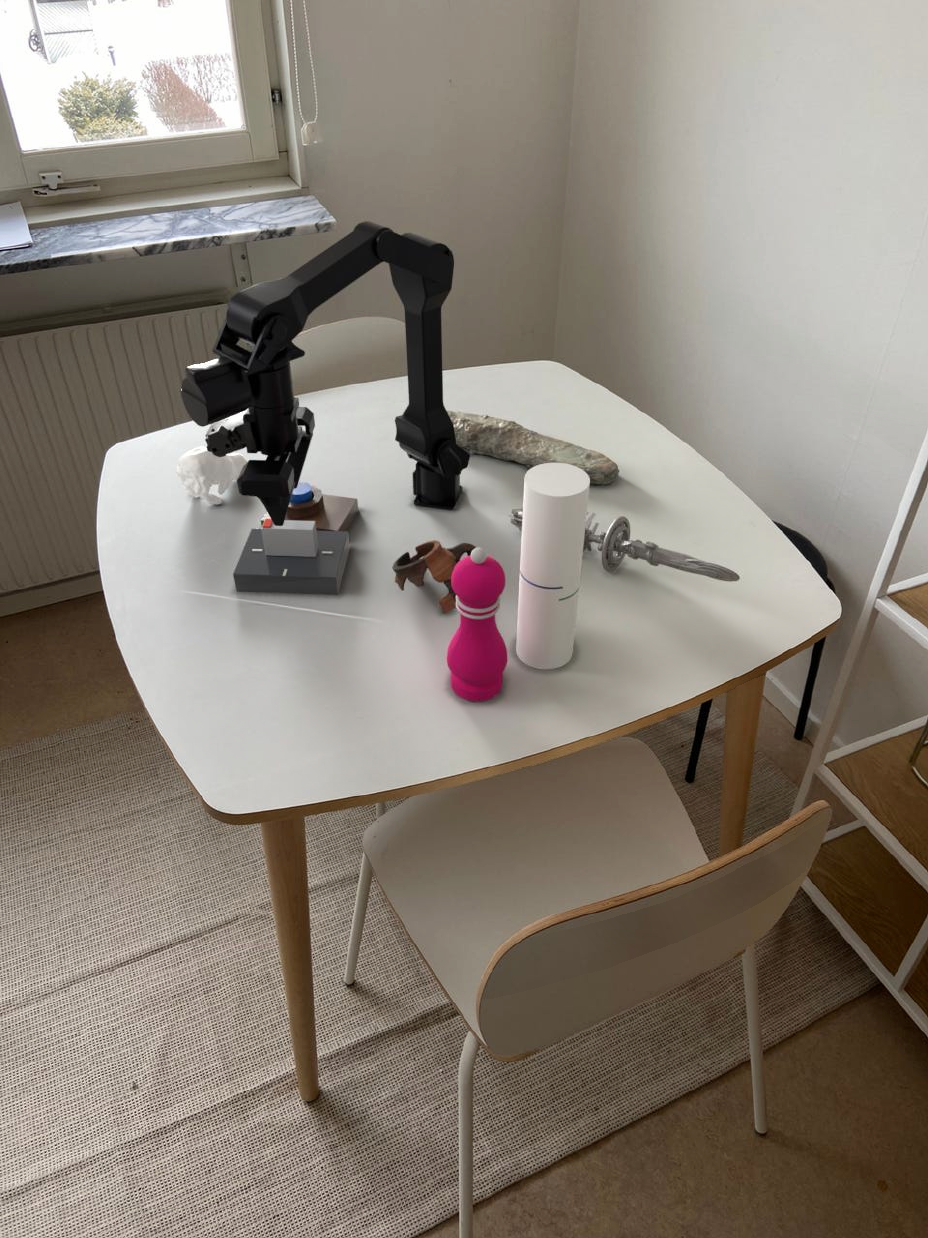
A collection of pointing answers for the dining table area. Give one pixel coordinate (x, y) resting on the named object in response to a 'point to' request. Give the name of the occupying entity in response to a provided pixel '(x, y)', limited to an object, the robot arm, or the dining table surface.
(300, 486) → the button
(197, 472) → the white animal figurine
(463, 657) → the pepper mill
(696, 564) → the silver sword
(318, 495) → the button block
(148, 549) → the dining table surface
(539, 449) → the elongated rock
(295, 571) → the rotary switch base
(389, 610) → the dining table surface
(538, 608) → the cylindrical container
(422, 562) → the broken clay pot shards
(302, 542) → the rotary switch knob
